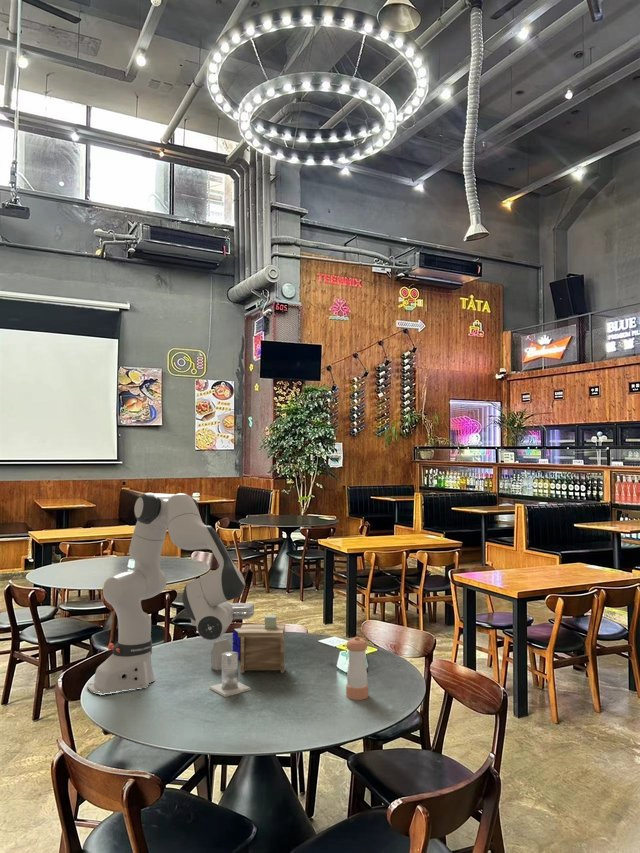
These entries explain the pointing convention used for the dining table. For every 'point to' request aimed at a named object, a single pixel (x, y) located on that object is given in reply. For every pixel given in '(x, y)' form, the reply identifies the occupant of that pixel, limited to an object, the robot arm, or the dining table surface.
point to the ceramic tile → (226, 693)
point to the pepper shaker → (357, 670)
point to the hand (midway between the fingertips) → (225, 605)
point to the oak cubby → (262, 647)
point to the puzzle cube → (237, 643)
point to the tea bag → (219, 653)
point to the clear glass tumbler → (229, 670)
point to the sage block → (270, 622)
